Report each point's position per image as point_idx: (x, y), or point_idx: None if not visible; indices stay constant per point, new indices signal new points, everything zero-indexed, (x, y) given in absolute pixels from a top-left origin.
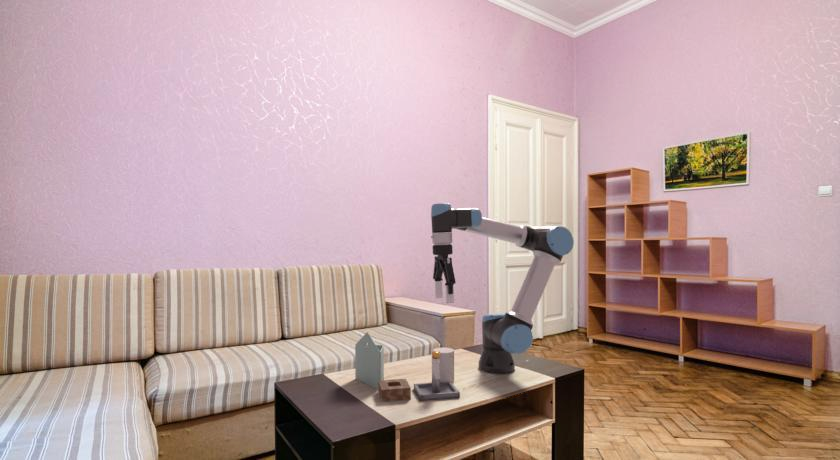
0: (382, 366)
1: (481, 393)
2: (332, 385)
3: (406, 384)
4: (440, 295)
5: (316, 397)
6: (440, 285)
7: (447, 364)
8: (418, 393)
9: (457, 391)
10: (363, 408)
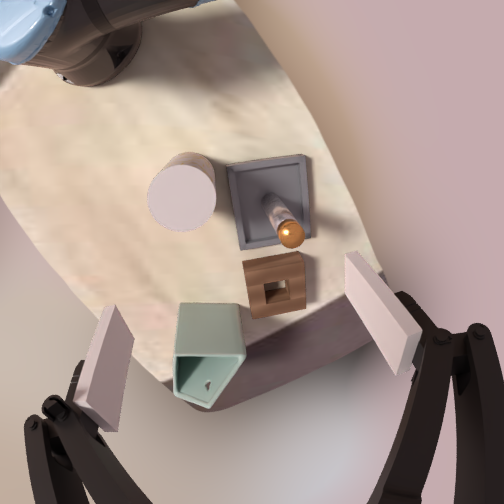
0: (210, 326)
1: (281, 101)
2: None
3: (284, 270)
4: (118, 327)
5: (266, 374)
6: (102, 382)
7: (214, 180)
8: None
9: (298, 159)
10: (321, 316)
